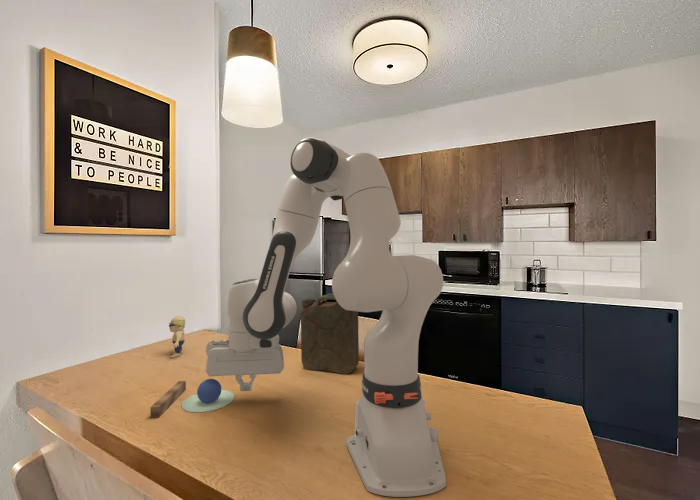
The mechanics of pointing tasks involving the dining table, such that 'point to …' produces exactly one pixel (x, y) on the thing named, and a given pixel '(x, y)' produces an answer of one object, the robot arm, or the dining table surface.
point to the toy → (177, 334)
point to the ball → (209, 391)
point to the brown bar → (167, 399)
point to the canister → (329, 336)
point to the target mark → (198, 406)
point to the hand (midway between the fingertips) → (246, 390)
